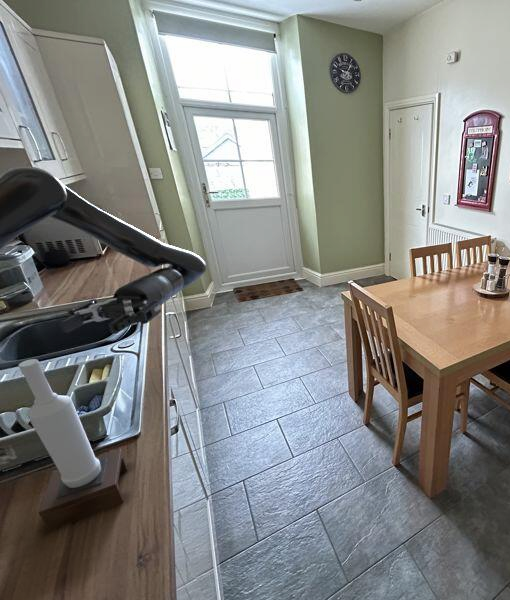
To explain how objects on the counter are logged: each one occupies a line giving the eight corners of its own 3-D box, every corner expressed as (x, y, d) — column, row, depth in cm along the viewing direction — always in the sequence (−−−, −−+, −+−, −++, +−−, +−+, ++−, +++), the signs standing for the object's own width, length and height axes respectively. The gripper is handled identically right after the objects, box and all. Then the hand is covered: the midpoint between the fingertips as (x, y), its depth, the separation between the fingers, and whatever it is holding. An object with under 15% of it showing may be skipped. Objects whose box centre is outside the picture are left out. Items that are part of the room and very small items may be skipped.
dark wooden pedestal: (49, 531, 56) (37, 511, 54) (62, 489, 63) (52, 470, 61) (123, 502, 61) (115, 483, 59) (127, 466, 68) (120, 448, 66)
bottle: (99, 480, 59) (46, 367, 49) (60, 494, 57) (-4, 377, 47) (104, 459, 63) (56, 350, 53) (68, 471, 61) (10, 358, 51)
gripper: (107, 277, 73) (37, 309, 58) (174, 279, 74) (122, 311, 59) (118, 308, 76) (53, 345, 61) (181, 309, 77) (133, 347, 62)
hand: (87, 328), depth 60 cm, fingers open, 8 cm apart
